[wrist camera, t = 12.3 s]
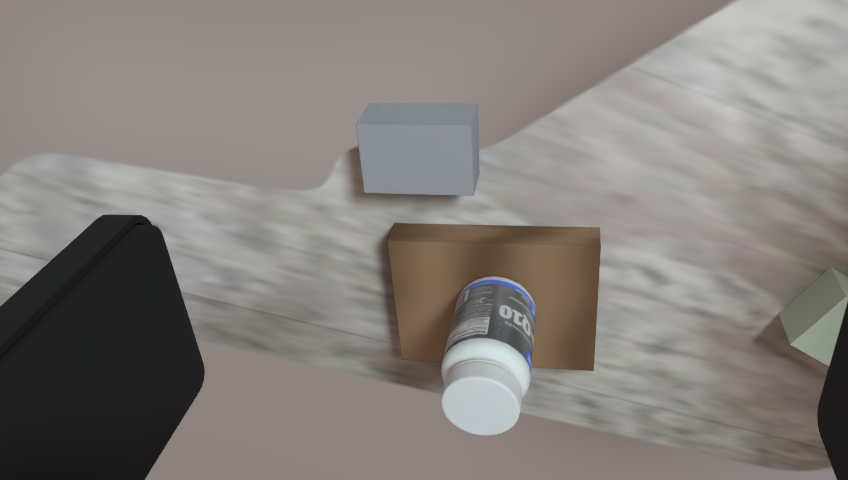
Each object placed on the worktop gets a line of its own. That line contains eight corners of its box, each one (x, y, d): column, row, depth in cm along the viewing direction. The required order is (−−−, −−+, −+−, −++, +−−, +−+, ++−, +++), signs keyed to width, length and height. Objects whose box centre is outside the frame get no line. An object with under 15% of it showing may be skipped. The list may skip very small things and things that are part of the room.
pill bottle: (550, 321, 43) (545, 427, 36) (482, 347, 45) (465, 452, 38) (510, 261, 41) (497, 360, 34) (441, 291, 43) (415, 390, 36)
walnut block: (599, 227, 41) (600, 246, 39) (592, 349, 46) (593, 370, 44) (394, 223, 43) (387, 240, 42) (408, 339, 48) (402, 359, 46)
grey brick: (478, 103, 39) (471, 125, 36) (480, 170, 41) (473, 195, 38) (369, 103, 40) (355, 124, 37) (377, 168, 42) (364, 192, 39)
